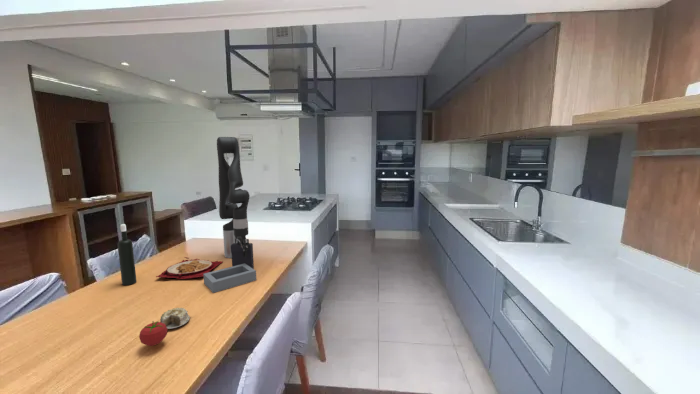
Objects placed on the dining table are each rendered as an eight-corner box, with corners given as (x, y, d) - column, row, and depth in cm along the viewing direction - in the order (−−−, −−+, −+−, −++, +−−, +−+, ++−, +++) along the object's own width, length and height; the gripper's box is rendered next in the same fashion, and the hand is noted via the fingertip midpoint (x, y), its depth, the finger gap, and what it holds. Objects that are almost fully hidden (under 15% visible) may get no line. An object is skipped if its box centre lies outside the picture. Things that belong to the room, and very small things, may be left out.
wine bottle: (128, 285, 141) (122, 225, 137) (119, 284, 142) (112, 225, 138) (139, 280, 147) (133, 223, 143) (130, 279, 148) (123, 222, 144)
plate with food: (155, 280, 147) (154, 273, 147) (183, 262, 173) (183, 256, 172) (201, 279, 147) (200, 273, 147) (223, 261, 173) (222, 256, 172)
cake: (163, 318, 113) (161, 305, 113) (191, 313, 117) (190, 300, 116) (156, 332, 104) (154, 318, 103) (187, 326, 108) (186, 312, 107)
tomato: (173, 335, 102) (171, 315, 101) (159, 350, 94) (157, 328, 93) (150, 335, 102) (148, 315, 101) (134, 350, 94) (132, 328, 93)
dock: (204, 283, 144) (203, 273, 143) (245, 272, 158) (244, 263, 157) (213, 292, 134) (212, 282, 133) (256, 280, 148) (256, 270, 147)
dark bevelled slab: (254, 268, 163) (253, 242, 161) (251, 271, 159) (250, 245, 157) (235, 268, 163) (233, 242, 161) (231, 271, 159) (230, 245, 157)
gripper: (229, 225, 160) (230, 253, 162) (238, 229, 150) (240, 260, 152) (242, 223, 165) (244, 250, 167) (252, 227, 155) (254, 256, 157)
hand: (242, 255), depth 160 cm, fingers open, 8 cm apart
